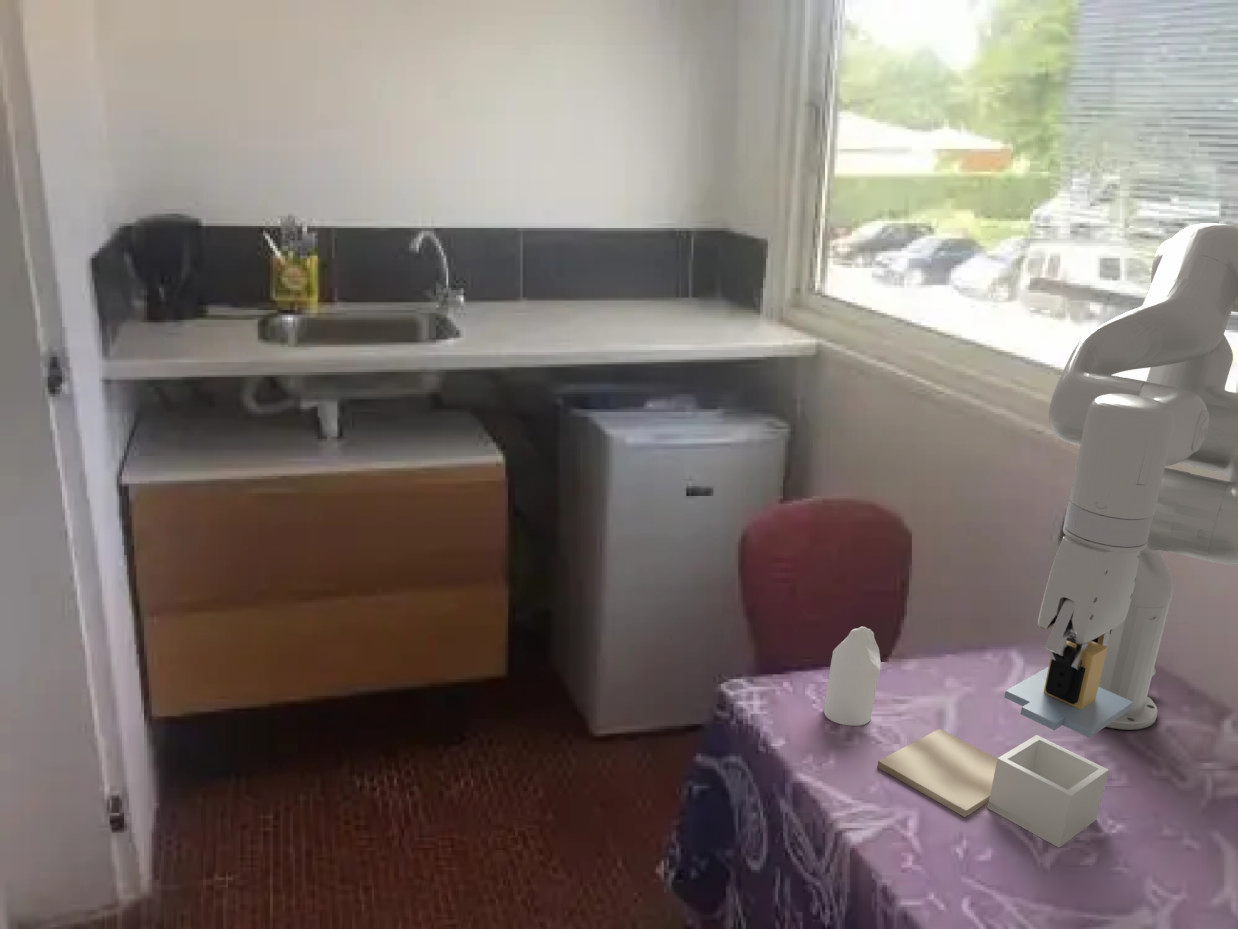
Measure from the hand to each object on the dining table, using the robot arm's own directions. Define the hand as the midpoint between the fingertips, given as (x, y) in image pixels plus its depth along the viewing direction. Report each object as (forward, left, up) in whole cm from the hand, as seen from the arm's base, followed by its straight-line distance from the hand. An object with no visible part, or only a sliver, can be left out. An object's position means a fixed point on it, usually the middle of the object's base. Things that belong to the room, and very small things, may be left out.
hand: (1070, 690), depth 109 cm
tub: (+1, 0, -14) cm, 14 cm away
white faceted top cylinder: (+2, -24, -14) cm, 28 cm away
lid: (0, 0, -1) cm, 1 cm away
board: (+2, -10, -14) cm, 17 cm away
